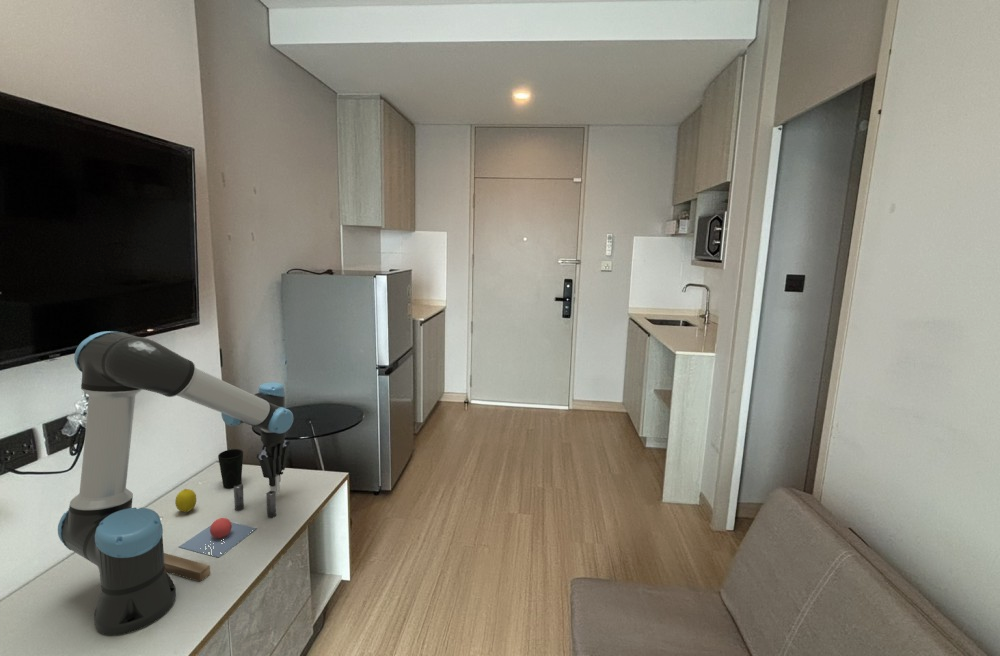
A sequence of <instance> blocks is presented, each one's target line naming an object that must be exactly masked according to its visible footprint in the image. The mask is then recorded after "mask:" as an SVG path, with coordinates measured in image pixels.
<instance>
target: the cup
mask: <svg viewBox="0 0 1000 656" xmlns="http://www.w3.org/2000/svg"><path fill="white" fill-rule="evenodd" d="M217 457H218V464H219V469H220V475H221V480H222V486H223V488H224V489H227V490H229V489H230V490H232V489H234V486H235V485H237V484H242V476H243V463H244V462H243V460H244V451H243V450H242V449H239V448H231V449H227V450H224V451H221V452H220V453H219V454H218V456H217Z"/></svg>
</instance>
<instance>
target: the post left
mask: <svg viewBox="0 0 1000 656" xmlns="http://www.w3.org/2000/svg"><path fill="white" fill-rule="evenodd" d="M233 497H234V501H233V502H234V510H235V512H236V511H242V510H244V508H245V502H244V501H245V499H244V498H245V497H244V484H243V483H241V484H237V485H235V486H234V488H233Z"/></svg>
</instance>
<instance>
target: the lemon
mask: <svg viewBox="0 0 1000 656" xmlns="http://www.w3.org/2000/svg"><path fill="white" fill-rule="evenodd" d="M174 503H175V507H176V508H177V510H178V511H180V512H184V513H188V512H189V511H191V510H192V509H194V507H195V506H196V504H197V494H196V492H195V491H194V490H193V489H190V488H184V489H183V490H181V491H179V492H178V494H177V495H176V498H175V502H174Z"/></svg>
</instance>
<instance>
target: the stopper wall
mask: <svg viewBox="0 0 1000 656" xmlns="http://www.w3.org/2000/svg"><path fill="white" fill-rule="evenodd" d="M164 563H165V570H166V572H167V573H168V572H169V573H168V574H172V573H173V574H172V575H176V576H179V575H180V577H183V576H184V578H186V577H187V578H186V579H190V578H191V579H190V580H193V579H194V581H197V582H200V581H201V582H202V581H203V580H204V579H206V578H207V577H208V576H209V575H211V565H210V564H206V563H202V562H198V561H195V560H192V559H187V558H185V557H181V556H180V557H179V556H176V555H173V554H170V553H165V552H164Z"/></svg>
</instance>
